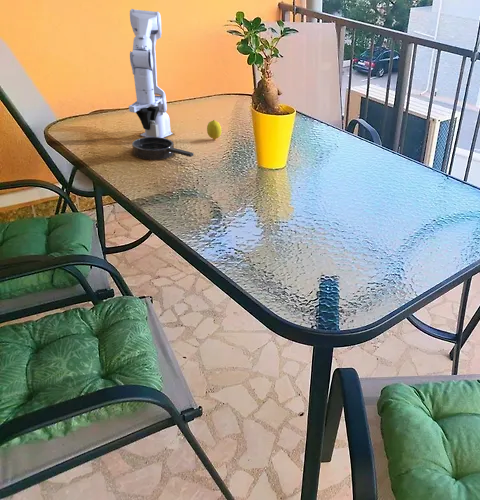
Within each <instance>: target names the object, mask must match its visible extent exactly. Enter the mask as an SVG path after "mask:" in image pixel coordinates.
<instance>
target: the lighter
mask: <svg viewBox="0 0 480 500" xmlns="http://www.w3.org/2000/svg"><path fill="white" fill-rule="evenodd" d="M146 133H147V135H149V136H153V137H158V136H159V128H158V124H156V123H155V122H154V121H153V120H150V130H146Z"/></svg>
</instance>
